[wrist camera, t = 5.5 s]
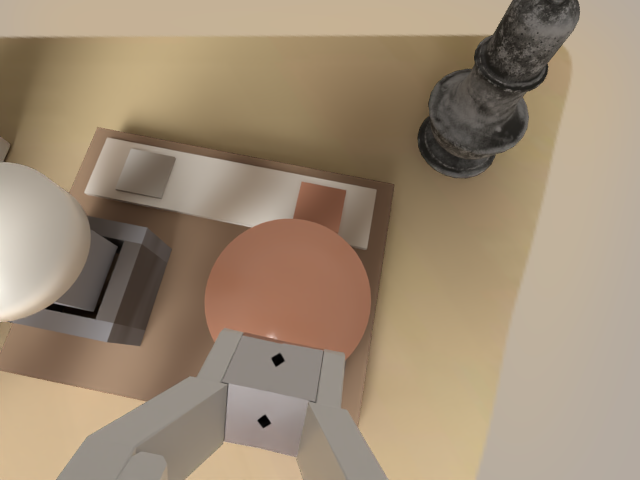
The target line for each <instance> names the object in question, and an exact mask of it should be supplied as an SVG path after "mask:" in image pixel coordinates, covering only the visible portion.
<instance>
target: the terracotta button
mask: <svg viewBox="0 0 640 480" xmlns="http://www.w3.org/2000/svg"><path fill="white" fill-rule="evenodd" d="M204 304H205V316H206V321H207V325H208V328H209V331H210V334H211V336H212V338H213V340H214V342H215V341H216V339H217V337H218V335H219V333H220V332H221V331H222V330H223V329H224V328H227V329H232V330H236V331H240V332H244V333H245V332H246V333H251V334H255V335H259V336H263V337H268V338H272V339H276V340H281V341H286V342H291V343H296V344H301V345H306V346H311V347H315V348H320V349H323V350H324V349H327V350H332V351H337V352H343V353H344V354H345V360H346V359H347V358H348V357H349V356H350V355H351V354H352V352H353V351H354V350H355V348H356V347H357V345H358V344H359V342H360V340H361V338H362V336H363V335H364V332H365V329H366V327H367V324H368V320H369V315H370V308H371V290H370V285H369V280H368V276H367V273H366V270H365V268H364V266H363V264H362V262H361V260H360V258H359V257H358V255H357V253H356V252H355V251H354V250H353V248H352V247H351V246H350V245H349V244H348V243H347V242H346V241H345V240H344V239H343V238H342V237H341V236H339V235H338V234H337V233H335V232H334V231H332V230H330V229H328V228H327V227H325V226H322V225H320V224H317V223H315V222H311V221H307V220H301V219H277V220H272V221H268V222H264V223H261V224H259V225H256V226H254V227H252V228H250V229H248V230H246V231H244V232H243V233H242V234H240V235H239V236H237V237H236V238H235V239H234V240H233V241H232V242H230V243H229V244H228V245H227V247H226V248H225V249H224V250H223V251H222V253H221V254H220V255H219V257H218V258H217V260H216V262H215V264H214V266H213V267H212V269H211V272H210V275H209V278H208V281H207V285H206V290H205V300H204Z"/></svg>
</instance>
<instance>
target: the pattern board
mask: <svg viewBox="0 0 640 480" xmlns="http://www.w3.org/2000/svg"><path fill="white" fill-rule="evenodd" d="M393 191H394V184H390V183H385V182H380V181H374V180H369V179H364V178H359V177H354V176H349V175H343V174H338V173H333V172H328V171H323V170H317V169H312V168H307V167H302V166H297V165H291V164H286V163H281V162H276V161H271V160H265V159H260V158H255V157H250V156H245V155H240V154H234V153H229V152H224V151H219V150H214V149H208V148H203V147H198V146H193V145H188V144H182V143H177V142H172V141H167V140H162V139H157V138H151V137H146V136H141V135H136V134H131V133H125V132H120V131H115V130H110V129H105V128H99V127H97V130H96V132H95V134H94V137H93V139H92V141H91V144H90V146H89V148H88V150H87V153H86V155H85V157H84V160H83V162H82V164H81V167H80V169H79V171H78V174H77V176H76V178H75V181H74V183H73V185H72V188H71V190H70V192H69V194H70V195H72V196H73V197H74V198H75V199H76V200H77V201H78V202H79V203H80V205H81V206H82V208H83V209H84V211H85V213H86V215H87V218H88V221H89V225H90V229H91V230H93V231H94V232H96V233H97V234H99V235H100V236H102V237H103V238H105V239H107V240H108V241H110V242H111V243H113V244H114V245H116V246H118V248H117V250H116V253H115V256H114V258H113V261H112V264H111V266H110V269H109V272H108V274H107V277H106V280H105V282H104V285H103V288H102V290H101V293H100V296H99V299H98V301H97V304H96V307H95V309H94V312H93V311H88V310H83V309H78V308H73V307H68V306H63V305H59V304H54V303H53V304H51V305H50V306H48V307H46V308H45V309H43V310H41V311H39V312H37V313H35V314H33V315H30V316H28V317H25V318H22V319H18V320H14V321H7V322H12V323H13V324H12V326H11V329H10V331H9V333H8V336H7V338H6V340H5V343H4V345H3V347H2V349H1V352H0V371H5V372H9V373H14V374H19V375H24V376H28V377H33V378H38V379H43V380H47V381H52V382H57V383H62V384H66V385H71V386H76V387H81V388H85V389H90V390H95V391H100V392H104V393H109V394H114V395H119V396H123V397H128V398H133V399H138V400H142V401H149V400H151V399H152V398H154V397H156V396H157V395H159V394H161V393H162V392H164V391H166V390H168V389H169V388H171V387H173V386H174V385H176V384H178V383H179V382H181V381H183V380H185V379H186V378H188V377H190V376H191V377H197V375H198V373H199V371H200V370H201V368H202V366H203V364H204V362H205V360H206V358H207V356H208V354H209V352H210V351H211V349H212V347H213V345H214V343H215V342H214V340H213V338H212V336H211V334H210V331H209V328H208V325H207V321H206V316H205V304H204V300H205V290H206V285H207V281H208V278H209V275H210V272H211V269H212V267H213V266H214V264H215V262H216V260H217V258H218V257H219V255H220V254H221V253H222V251H223V250H224V249H225V248H226V247H227V245H228V244H229V243H230V242H232V241H233V240H234V239H235V238H236V237H237V236H239V235H240V234H242V233H243V232H244V231H246V230H248V229H250V228H252V227H254V226H256V225H259V224H261V223H264V222H268V221H272V220H277V219H301V220H307V221H311V222H315V223H317V224H320V225H322V226H325V227H327V228H328V229H330V230H332V231H334V232H335V233H337V234H338V235H339V236H341V237H342V238H343V239H344V240H345V241H346V242H347V243H348V244H349V245H350V246H351V247H352V248H353V250H354V251H355V252H356V253H357V255H358V257H359V258H360V260H361V262H362V264H363V266H364V268H365V270H366V273H367V276H368V280H369V285H370V290H371V308H370V315H369V320H368V324H367V327H366V329H365V332H364V335H363V336H362V338H361V340H360V342H359V344H358V345H357V347H356V348H355V350H354V351H353V352H352V354H351V355H350V356H349V357H348V358H347V359H346V360H345V366H344V378H343V390H342V402H341V408H342V409H346V410H348V412H349V414H350V415H351V417H352V419H353V420H354V422H355V424H356V425H357V427H358V423H359V416H360V409H361V403H362V396H363V390H364V383H365V376H366V370H367V363H368V356H369V350H370V343H371V337H372V330H373V323H374V317H375V310H376V303H377V297H378V290H379V284H380V277H381V270H382V264H383V257H384V250H385V244H386V237H387V231H388V224H389V217H390V211H391V204H392V197H393Z"/></svg>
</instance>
